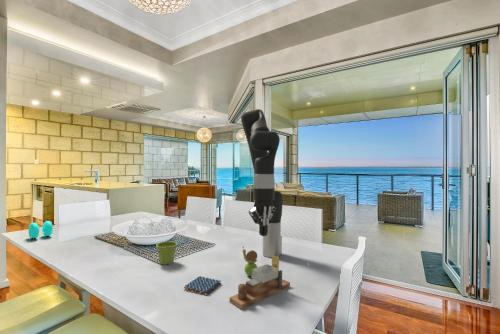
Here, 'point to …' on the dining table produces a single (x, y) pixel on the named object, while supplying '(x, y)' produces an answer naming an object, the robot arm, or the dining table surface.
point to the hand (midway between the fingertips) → (263, 235)
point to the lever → (275, 261)
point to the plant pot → (166, 252)
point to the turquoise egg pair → (46, 229)
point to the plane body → (257, 291)
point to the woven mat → (202, 285)
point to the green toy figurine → (250, 261)
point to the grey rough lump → (264, 273)
